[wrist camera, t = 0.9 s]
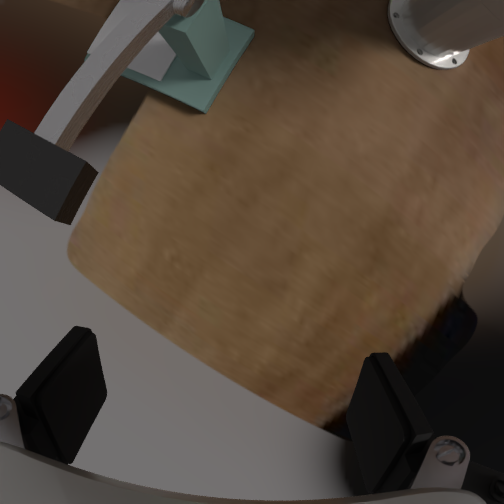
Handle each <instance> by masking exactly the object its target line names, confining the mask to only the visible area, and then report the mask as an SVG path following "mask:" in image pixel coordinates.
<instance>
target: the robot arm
mask: <svg viewBox="0 0 504 504" xmlns="http://www.w3.org/2000/svg"><path fill="white" fill-rule="evenodd" d="M388 19H389V23H390V26H391V29H392V31H393V33H394V35H395V36H396V38H397V40H398V41H399V42H400V44H401V45H402V46H403V47H404V48H405V49H406V51H407V52H408V53H409V54H411V55H412V56H413V57H414V58H415V59H417V60H418V61H420V62H421V63H423V64H425V65H427V66H429V67H432V68H435V69H439V70H448V69H453V68H456V67H458V66H460V65H461V64H462V63H463V62H464V61H465V60H466V58H467V56H468V53H469V49H471V48H473V47H476V46H478V45H481V44H483V43H486V42H489V41H491V40H494V39H497V38H499V37H502V36H504V0H390V1H389V5H388ZM16 395H17V396H16V397H15V398H14V399H12V398H11V397H10V396H8V395H4V394H0V504H504V474H503V473H500V472H497V471H495V470H492V469H490V468H487V467H485V466H482V465H479V464H477V463H474V462H472V461H469V458H470V453H469V449H468V448H467V446H466V444H465V443H463V442H462V441H461V440H459V439H457V438H455V437H451V436H442V437H438V438H436V436H435V434H434V433H433V431H432V429H431V427H430V425H429V423H428V421H427V420H426V418H425V416H424V414H423V412H422V410H421V409H420V407H419V405H418V403H417V402H416V400H415V398H414V396H413V394H412V393H411V391H410V389H409V388H408V386H407V384H406V382H405V381H404V379H403V377H402V376H401V374H400V372H399V370H398V369H397V367H396V365H395V364H394V362H393V360H392V359H391V357H390V355H389V354H388V353H371V354H370V356H369V357H366V358H365V360H364V363H363V366H362V369H361V372H360V376H359V379H358V382H357V385H356V388H355V391H354V394H353V396H352V399H351V402H350V405H349V408H348V411H347V415H346V419H347V424H348V427H349V430H350V434H351V437H352V440H353V444H354V447H355V451H356V454H357V458H358V461H359V465H360V468H361V472H362V475H363V478H364V482H365V486H366V489H367V491H368V492H369V493H370V492H372V494H371V495H363V496H354V497H344V498H334V499H320V500H298V501H297V500H296V501H264V500H240V499H239V500H238V499H227V498H216V497H206V496H198V495H190V494H183V493H177V492H171V491H165V490H160V489H155V488H150V487H145V486H140V485H136V484H131V483H128V482H123V481H119V480H115V479H112V478H108V477H105V476H101V475H98V474H94V473H91V472H88V471H85V470H82V469H79V468H75V467H73V466H70V465H68V464H71V463H73V461H74V459H75V457H76V455H77V453H78V451H79V449H80V447H81V445H82V443H83V441H84V439H85V438H86V436H87V434H88V432H89V430H90V428H91V426H92V424H93V422H94V420H95V418H96V417H97V415H98V413H99V411H100V409H101V407H102V405H103V403H104V402H105V400H106V397H107V389H106V384H105V380H104V375H103V371H102V366H101V361H100V356H99V351H98V345H97V339H96V335H95V334H94V333H92V331H91V329H89V328H85V327H79V326H74V327H73V328H72V329H71V330H70V331H69V332H68V334H67V335H66V336H65V337H64V338H63V339H62V340H61V341H60V342H59V344H57V346H56V347H55V348H54V349H53V350H52V351H51V352H50V353H49V354H48V356H47V357H46V358H45V359H44V360H43V361H42V362H41V363H40V365H39V366H38V367H37V368H36V369H35V370H34V372H33V373H32V374H31V375H30V376H29V377H28V379H27V380H26V381H25V382H24V383H23V384H22V386H21V387H20V388H19V389H18V390H17V392H16Z"/></svg>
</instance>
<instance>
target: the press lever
mask: <svg viewBox="0 0 504 504" xmlns="http://www.w3.org/2000/svg"><path fill="white" fill-rule="evenodd" d="M203 2H204V0H142V1H141V2H140V3H139V4H138V5H137V6H136V7H135V8H134V9H133V10H132V11H131V12H130V13H129V14H128V15H127V16H126V17H125V18H124V19H123V20H122V21H121V22H120V23H119V24H118V25H117V26H116V27H115V28H114V29H113V30H112V31H111V32H110V33H109V34H108V35H107V36H106V38H105V39H104V40H103V41H102V42H101V43H100V44H99V45H98V47H97V48H96V49H95V50H94V51H93V52H92V54H91V55H90V56H89V57H88V58H87V60H86V61H85V62H84V63H83V65H82V66H81V67H80V68H79V69H78V71H77V72H76V73H75V75H74V76H73V77H72V78H71V80H70V81H69V83H68V84H67V85H66V86H65V88H64V89H63V91H62V92H61V93H60V95H59V96H58V98H57V99H56V101H55V102H54V103H53V105H52V106H51V108H50V109H49V111H48V112H47V114H46V115H45V117H44V118H43V120H42V121H41V123H40V125H39V126H38V128H37V129H36V131H35V133H32V132H30V131H29V130H27V129H25V128H23V127H21V126H19V125H17V124H15V123H14V122H12V121H10V120H8V119H7V121H6V122H5V124H4V126H3V128H2V129H1V131H0V185H1V186H3V187H4V188H6V189H7V190H9V191H10V192H12V193H13V194H15V195H16V196H18V197H19V198H21V199H22V200H23V201H25V202H26V203H28V204H30V205H31V206H33V207H34V208H36V209H37V210H39V211H40V212H42V213H43V214H45V215H46V216H48V217H50V218H51V219H53V220H54V221H58V222H61V223H65V224H68V225H71V223H72V221H73V219H74V217H75V215H76V213H77V211H78V209H79V207H80V205H81V203H82V201H83V199H84V198H85V196H86V194H87V192H88V190H89V188H90V187H91V185H92V183H93V181H94V179H95V178H96V176H97V174H98V172H97V171H96V170H95V169H94V168H93V167H92V166H91V165H90V164H88V162H86V161H85V160H83V159H81V158H79V157H77V156H75V155H73V154H72V153H70V152H68V151H69V149H70V148H71V146H72V144H73V143H74V141H75V139H76V138H77V136H78V135H79V133H80V132H81V130H82V128H83V127H84V125H85V124H86V122H87V121H88V119H89V118H90V116H91V115H92V113H93V112H94V111H95V109H96V108H97V106H98V105H99V103H100V102H101V101H102V99H103V98H104V97H105V95H106V94H107V92H108V91H109V89H110V88H111V87H112V85H113V84H114V83H115V82H116V80H117V79H118V78H119V77H120V75H121V74H122V73H123V72H124V70H125V69H126V68H127V67H128V65H129V64H130V63H131V62H132V61H133V59H134V58H135V57H136V56H137V55H138V53H139V52H140V51H141V50H142V49H143V48H144V47H145V45H146V44H147V43H148V42H149V41H150V40H151V39H152V38H153V36H154V35H155V34H156V33H157V32H158V31H159V30H160V29H161V28H162V27H163V26H164V25H165V24H166V23H167V22H168V21H169V20H170V19H171V18H172V17H173V16H174V15H175V14H177V15H180V16H183V17H186V18H188V17H191V16H192V15H194V14H195V13H196V12H197V11H198V9H199V8H200V7H201V5H202V4H203Z"/></svg>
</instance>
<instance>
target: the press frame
mask: <svg viewBox="0 0 504 504" xmlns="http://www.w3.org/2000/svg"><path fill="white" fill-rule="evenodd" d="M141 1H142V0H120V1H119V3H118V4H117V6H116V7H115V8H114V10H113V11H112V13H111V14H110V16H109V17H108V19H107V20H106V22H105V23H104V25H103V27H102V28H101V30H100V31H99V33H98V35H97V36H96V38H95V40H94V42H93V43H92V44H91V46H90V48H89V50H88V51H87V53H88V54H87V56H86V57H85V59H84V61H86V60H87V58H88V57H89V56H90V55H91V54H92V52H93V51H94V50H95V49H96V48H97V47H98V45H99V44H100V43H101V42H102V41H103V40H104V39H105V38H106V36H107V35H108V34H109V33H110V32H111V31H112V30H113V29H114V28H115V27H116V26H117V25H118V24H119V23H120V22H121V21H122V20H123V19H124V18H125V17H126V16H127V15H128V14H129V13H130V12H131V11H132V10H133V9H134V8H135V7H136V6H137V5H138V4H139V3H140V2H141ZM253 38H254V30H253V29H251V28H249V27H247V26H244V25H242V24H240V23H237V22H235V21H233V20H230V19H228V18H225V17H223V15H222V11H221V6H220V2H219V0H204V2H203V4H202V5H201V7H200V8H199V9H198V11H197V12H196V13H195V14H194V15H192V16H191V17H188V18H186V17H183V16H180V15H177V14H175V15H174V16H173V17H172V18H171V19H170V20H169V21H168V22H167V23H166V24H165V25H164V26H163V27H162V28H161V29H160V30H159V31H158V32H157V33H156V34H155V35H154V36H153V38H152V39H151V40H150V41H149V42H148V43H147V44H146V45H145V47H144V48H143V49H142V50H141V51H140V52H139V53H138V55H137V56H136V57H135V58H134V59H133V61H132V62H131V63H130V64H129V65H128V67H127V68H126V69H125V70H124V72H123V73H122V74H121V75H120V76H123V77H125V78H128V79H130V80H133V81H135V82H138V83H140V84H142V85H144V86H147V87H149V88H151V89H154V90H156V91H158V92H160V93H163V94H165V95H167V96H169V97H171V98H174V99H176V100H178V101H180V102H182V103H184V104H186V105H189V106H191V107H193V108H195V109H197V110H199V111H201V112H203V113H205V114H206V113H207V111H208V110H209V108H210V106H211V104H212V103H213V101H214V99H215V98H216V96H217V94H218V93H219V91H220V89H221V88H222V86H223V84H224V83H225V81H226V79H227V78H228V76H229V75H230V73H231V71H232V70H233V68H234V67H235V65H236V63H237V62H238V60H239V59H240V57H241V56H242V54H243V53H244V51H245V50H246V48H247V47H248V45H249V44H250V42H251V41H252V39H253Z"/></svg>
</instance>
